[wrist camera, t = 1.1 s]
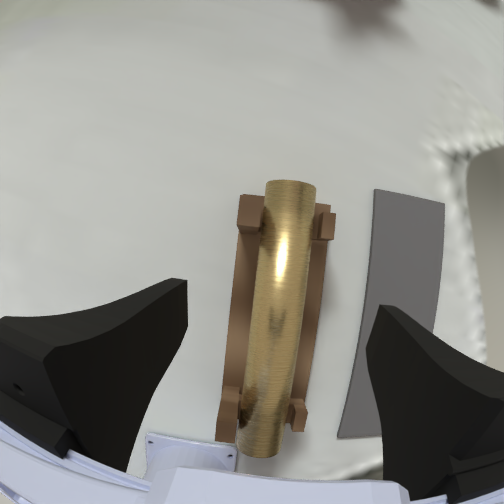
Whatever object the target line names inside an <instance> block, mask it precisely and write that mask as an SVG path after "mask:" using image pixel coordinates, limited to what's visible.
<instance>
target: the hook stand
mask: <svg viewBox="0 0 504 504" xmlns="http://www.w3.org/2000/svg"><path fill="white" fill-rule="evenodd" d="M264 199H265V196H256V195H247V194H243V195H240V201H239V210H238V218H237V227H238V229H239V234H238V243H237V251H236V260H235V269H234V278H233V288H232V297H231V306H230V316H229V325H228V335H227V345H226V355H225V365H224V375H223V385H222V396H221V402H220V407H219V412H218V416H217V422H216V434H215V441H218V442H226V443H235V435H236V427H237V419H239V417H240V409H241V401H242V392H243V384H244V375H245V367H246V358H247V350H248V341H249V333H250V324H251V315H252V307H253V298H254V289H255V280H256V271H257V263H258V254H259V245H260V236H261V227H262V218H263V208H264ZM330 208H331V205H327V204H320V203H315V211H314V222H313V233H312V243H311V252H310V262H309V271H308V279H307V288H306V296H305V304H304V311H303V319H302V326H301V333H300V340H299V347H298V353H297V360H296V366H295V372H294V378H293V384H292V390H291V396H290V402H289V407H288V413H287V418H286V423H290V425H291V429H292V431H293V432H304V428H305V424H306V419H307V414H308V412H307V409H306V406H305V404H304V402H305V397H306V391H307V386H308V381H309V375H310V369H311V363H312V357H313V351H314V345H315V339H316V332H317V325H318V318H319V311H320V304H321V296H322V288H323V280H324V271H325V262H326V253H327V243H328V241H329V240H334V231H335V219H336V214H335V213H330Z"/></svg>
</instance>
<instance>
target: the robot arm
mask: <svg viewBox="0 0 504 504" xmlns="http://www.w3.org/2000/svg"><path fill="white" fill-rule="evenodd" d="M187 327H188V303H187V280H182V279H176V278H170V279H167V280H164V281H162V282H159V283H157V284H155V285H153V286H150V287H148V288H146V289H144V290H141V291H139V292H137V293H134V294H132V295H129V296H127V297H124V298H122V299H119V300H117V301H114V302H111V303H108V304H105V305H102V306H98V307H95V308H91V309H87V310H82V311H77V312H72V313H67V314H60V315H52V316H39V317H12V316H4V317H2V318H1V319H0V492H1V493H2V494H3V495H4V496H6V497H7V498H8V499H9V500H11V501H12V502H14V503H15V504H504V373H503V372H500V371H498V370H495V369H493V368H490V367H488V366H486V365H484V364H482V363H479V362H477V361H475V360H473V359H471V358H469V357H468V356H466V355H464V354H462V353H461V352H459V351H457V350H456V349H454V348H452V347H451V346H449V345H448V344H446V343H445V342H443V341H442V340H441V339H439V338H438V337H436V336H435V335H434V334H432V333H431V332H430V331H428V330H427V329H426V328H424V327H423V326H422V325H420V324H419V323H418V322H417V321H415V320H414V319H413V318H411V317H410V316H409V315H408V314H406V313H405V312H403V311H402V310H401V309H399V308H397V307H396V306H392V305H381V304H379V308H378V311H377V314H376V318H375V321H374V324H373V327H372V330H371V333H370V336H369V339H368V342H367V345H366V348H365V349H366V359H367V367H368V373H369V377H370V381H371V385H372V388H373V392H374V396H375V400H376V404H377V408H378V412H379V417H380V423H381V431H382V443H383V481H382V480H302V479H287V478H275V477H266V476H257V475H250V474H243V473H236V472H234V471H235V463H236V455H237V449H236V448H235V447H233V446H226V445H218V444H211V443H204V442H197V441H191V440H185V439H180V438H174V437H169V436H164V435H160V434H155V433H147V434H146V437H145V441H146V459H147V471H146V473H145V475H144V477H143V479H141V478H138V477H135V476H132V475H130V474H127V473H126V470H127V467H128V463H129V459H130V456H131V453H132V450H133V447H134V444H135V440H136V437H137V434H138V432H139V429H140V426H141V423H142V421H143V418H144V415H145V413H146V410H147V408H148V405H149V403H150V400H151V398H152V396H153V394H154V392H155V390H156V388H157V386H158V384H159V382H160V381H161V379H162V377H163V375H164V374H165V372H166V370H167V369H168V367H169V365H170V363H171V362H172V360H173V358H174V356H175V355H176V353H177V351H178V349H179V347H180V345H181V343H182V340H183V338H184V335H185V333H186V330H187ZM149 441H152V442H153V443H150V442H149ZM230 454H231V455H233V456H228V455H230Z"/></svg>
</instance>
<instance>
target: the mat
mask: <svg viewBox="0 0 504 504" xmlns="http://www.w3.org/2000/svg"><path fill="white" fill-rule="evenodd" d="M444 221H445V204H444V203H440V202H436V201H432V200H427V199H423V198H418V197H414V196H409V195H404V194H400V193H395V192H390V191H385V190H380V189H375V190H374V201H373V219H372V233H371V246H370V257H369V266H368V276H367V284H366V292H365V300H364V307H363V314H362V320H361V326H360V333H359V338H358V344H357V350H356V355H355V360H354V365H353V370H352V375H351V380H350V384H349V389H348V393H347V398H346V402H345V406H344V410H343V414H342V418H341V422H340V426H339V430H338V433H337V436H338V437H357V436H370V435H381V434H382V431H381V423H380V417H379V412H378V408H377V404H376V400H375V396H374V392H373V388H372V385H371V381H370V377H369V373H368V367H367V359H366V349H365V348H366V345H367V342H368V339H369V336H370V333H371V330H372V327H373V324H374V321H375V318H376V314H377V311H378V308H379V304H381V305H392V306H396V307H397V308H399V309H401V310H402V311H403V312H405V313H406V314H408V315H409V316H410V317H411V318H413V319H414V320H415V321H417V322H418V323H419V324H420V325H422V326H423V327H424V328H426V329H427V330H428V331H430V332H431V333H433V328H434V322H435V316H436V310H437V303H438V296H439V288H440V279H441V270H442V258H443V244H444Z"/></svg>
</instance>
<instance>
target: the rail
mask: <svg viewBox="0 0 504 504" xmlns="http://www.w3.org/2000/svg"><path fill="white" fill-rule="evenodd" d="M315 199H316V187H314V186H313V185H311V184H308V183H304V182H300V181H293V180H273V181H269V182H267V183H266V190H265V199H264V208H263V218H262V227H261V236H260V245H259V254H258V263H257V271H256V280H255V289H254V298H253V307H252V315H251V324H250V333H249V341H248V350H247V358H246V367H245V375H244V384H243V392H242V401H241V409H240V417H239V426H238V434H237V442H236V446H237V448H238V449H239V450H240V451H241V452H242V453H244V454H246V455H248V456H251V457H256V458H268V457H272V456H274V455H276V454H277V453H279V451H280V449H281V444H282V439H283V434H284V429H285V423H286V418H287V413H288V407H289V402H290V396H291V390H292V384H293V378H294V372H295V366H296V360H297V353H298V347H299V340H300V333H301V326H302V319H303V311H304V304H305V296H306V288H307V279H308V271H309V262H310V252H311V243H312V233H313V222H314V211H315Z"/></svg>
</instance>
